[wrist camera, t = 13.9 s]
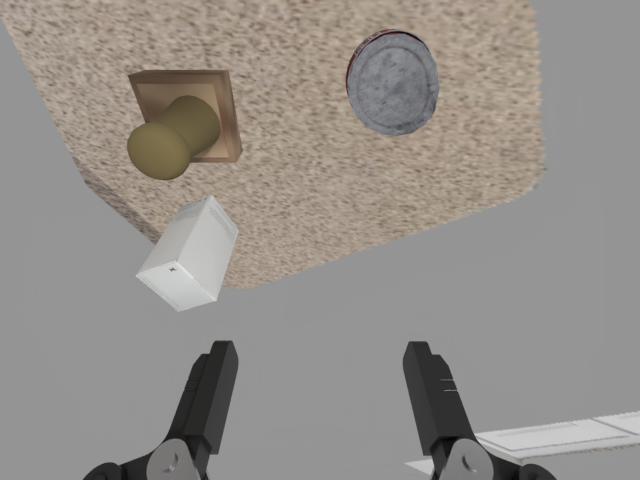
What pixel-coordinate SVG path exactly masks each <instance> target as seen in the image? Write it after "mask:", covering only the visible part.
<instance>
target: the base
mask: <svg viewBox="0 0 640 480" xmlns="http://www.w3.org/2000/svg"><path fill="white" fill-rule="evenodd" d="M127 76H128V78H129V81H130V84H131V86H132V89H133V92H134V94H135V97H136V100H137V102H138V105H139V108H140V110H141V113H142V116H143V118H144V121H145V124H146V123H153V122H155V121H156V120H157V119H158V118H159V117H160V116H161V114H162V113H163V112H164V111H165V110H166V109H167V107H168V106H169V105H170V104H171V103H172V102H173V101H174V100H175V99H177V98H178V97H180V96H185V95H189V96H196V97H198V98H200V99H202V100H204V101H205V102H206V103H208V104H209V105H210V106H211V107H212V108H213V110H214V111H215V113H216V114H217V116H218V119H219V121H220V129H221V132H220V135H219V138H218V140H217V141H216V142H215V144H213V145H211V146H210V147H208V148H207V149H205V150H204V151H202V152H200V153H199V154H197V155H196V156H194V157H193V158H191V159H190V163H236V162H237V161H238V159H239V157H240V155H241V154H242V152H243V149H242V144H241V138H240V132H239V127H238V121H237V115H236V110H235V104H234V98H233V92H232V87H231V81H230V75H229V70H143V71H140V72H137V73H133V74H130V75H127Z"/></svg>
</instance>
